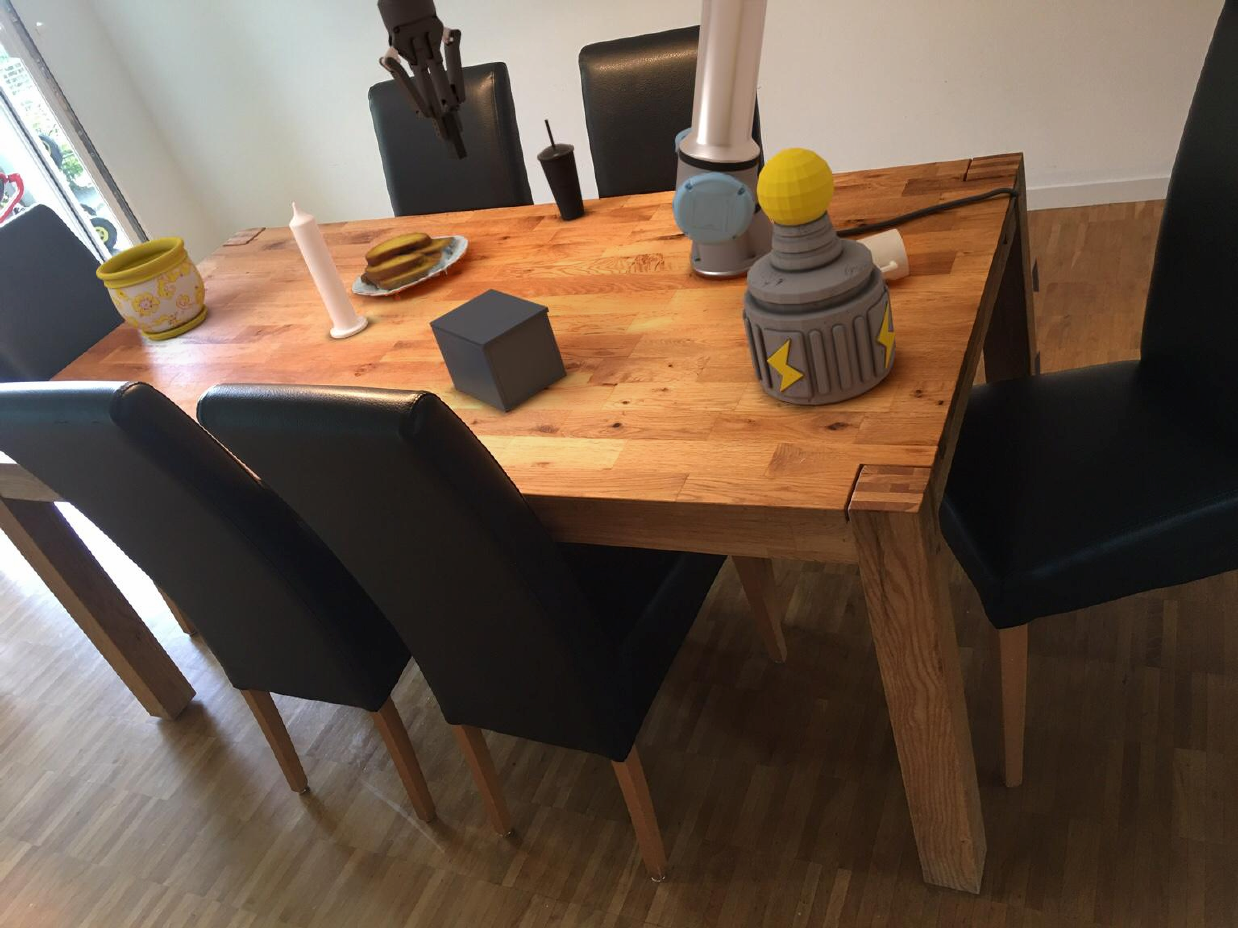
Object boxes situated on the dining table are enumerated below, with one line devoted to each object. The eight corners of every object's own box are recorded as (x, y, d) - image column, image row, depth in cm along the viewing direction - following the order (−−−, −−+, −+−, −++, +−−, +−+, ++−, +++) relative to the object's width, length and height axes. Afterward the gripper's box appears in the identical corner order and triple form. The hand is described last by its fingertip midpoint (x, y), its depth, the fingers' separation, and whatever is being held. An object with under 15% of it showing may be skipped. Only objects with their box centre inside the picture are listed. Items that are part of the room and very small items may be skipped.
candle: (374, 318, 192) (320, 192, 178) (355, 337, 186) (297, 208, 173) (344, 321, 195) (289, 196, 181) (324, 339, 189) (265, 213, 176)
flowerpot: (199, 300, 228) (163, 232, 219) (232, 312, 215) (195, 240, 206) (124, 338, 219) (83, 269, 210) (153, 354, 206) (112, 280, 198)
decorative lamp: (795, 330, 146) (757, 124, 130) (922, 340, 135) (898, 116, 119) (729, 400, 135) (679, 184, 119) (862, 418, 124) (827, 182, 108)
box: (567, 374, 153) (546, 310, 147) (505, 412, 148) (481, 348, 142) (514, 353, 164) (492, 293, 158) (455, 388, 159) (430, 327, 153)
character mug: (826, 313, 148) (915, 286, 146) (816, 268, 145) (907, 240, 143) (813, 288, 158) (896, 263, 156) (803, 245, 154) (888, 219, 153)
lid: (549, 311, 147) (548, 306, 146) (484, 349, 142) (483, 344, 141) (492, 293, 158) (490, 288, 158) (430, 327, 153) (429, 322, 153)
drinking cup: (587, 220, 206) (559, 122, 196) (551, 226, 209) (522, 130, 198) (595, 205, 212) (569, 110, 202) (561, 211, 215) (533, 117, 204)
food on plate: (412, 308, 191) (399, 277, 187) (330, 301, 206) (316, 272, 202) (498, 247, 206) (488, 217, 202) (416, 245, 221) (404, 216, 217)
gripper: (427, -22, 146) (480, 139, 159) (348, 7, 140) (410, 172, 153) (453, -25, 140) (506, 142, 153) (373, 5, 135) (435, 177, 147)
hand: (458, 157), depth 153 cm, fingers closed
